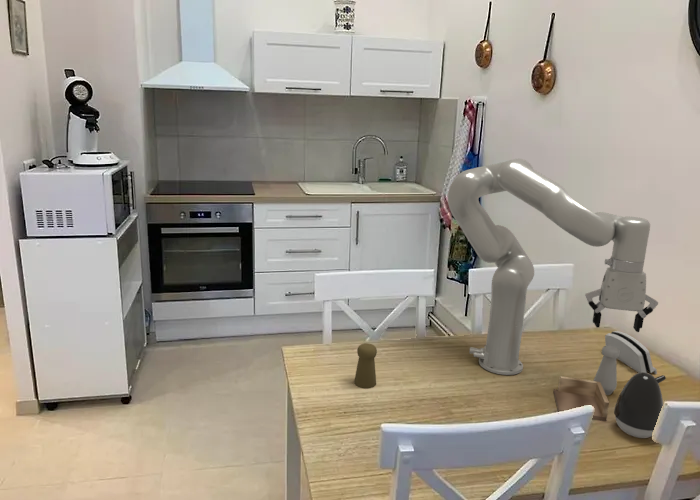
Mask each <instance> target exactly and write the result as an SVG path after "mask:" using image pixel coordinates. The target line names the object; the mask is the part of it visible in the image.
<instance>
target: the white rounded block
mask: <svg viewBox="0 0 700 500" xmlns="http://www.w3.org/2000/svg"><path fill="white" fill-rule="evenodd" d="M604 339H605V340H604V341H605V346H613V347H616V348H618V350H619V351H620V354H619V357H618V358H616V360H618V361H620V362H622V363H623V364H625V365H627V366H628V367H630V368H631V369H633V370H634V371H635V372H637V373H640V372H645V373H649V374H651V373H653V372H654V375H658V370H657V368H656V367H654V366H653V362H652V358H651V357H652V356H651V353H650V351H649V349H648V348H647V347H646V346H645V345H644V344H643V343H641V341H639V340H637V339H636V338H635V337H633V336H631V335H630V334H628V333H626V332H622V331H619V330H614V331H611V333H610V332H609V333H606V334H605V335H604Z"/></svg>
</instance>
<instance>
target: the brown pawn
mask: <svg viewBox="0 0 700 500" xmlns="http://www.w3.org/2000/svg"><path fill="white" fill-rule="evenodd" d="M377 350H378V349H377V347H376V346H375V345H374V344H372V343H367V342H366V343H365V342H364V343H362V344H360V345H358V347H357V350H356V353H357V356H358V359H357V366H356V371H355V375H354V381H353V385H355V386H356V387H358V388H360V389H363V390H364V389H365V390H366V389H373V388H375V387H376V386H377V375H376V363H375V358H376V357H377V355H378V354H377V353H378V351H377Z"/></svg>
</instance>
